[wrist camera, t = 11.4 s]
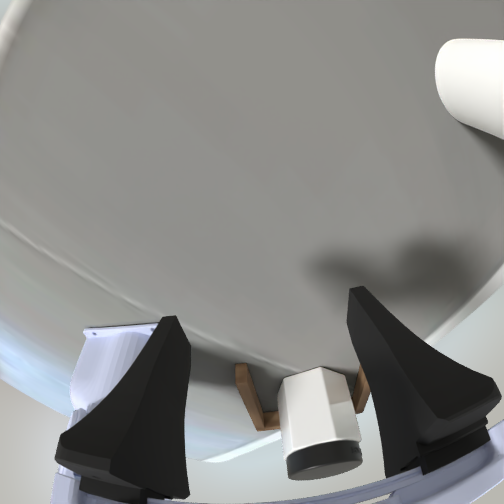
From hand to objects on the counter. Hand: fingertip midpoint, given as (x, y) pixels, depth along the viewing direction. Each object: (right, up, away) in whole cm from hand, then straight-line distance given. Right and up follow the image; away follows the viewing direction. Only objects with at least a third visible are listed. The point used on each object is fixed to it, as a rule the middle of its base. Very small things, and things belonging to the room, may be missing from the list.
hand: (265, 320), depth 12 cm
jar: (+7, -14, +22) cm, 26 cm away
